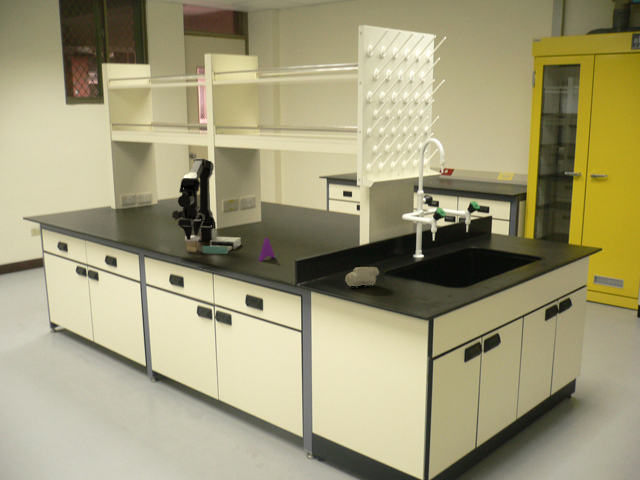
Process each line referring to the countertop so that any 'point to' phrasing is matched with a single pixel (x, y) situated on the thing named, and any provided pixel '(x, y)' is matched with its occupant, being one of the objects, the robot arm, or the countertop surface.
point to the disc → (193, 238)
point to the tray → (217, 249)
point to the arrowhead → (266, 250)
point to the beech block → (192, 246)
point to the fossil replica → (362, 276)
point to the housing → (226, 241)
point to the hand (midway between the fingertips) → (192, 237)
